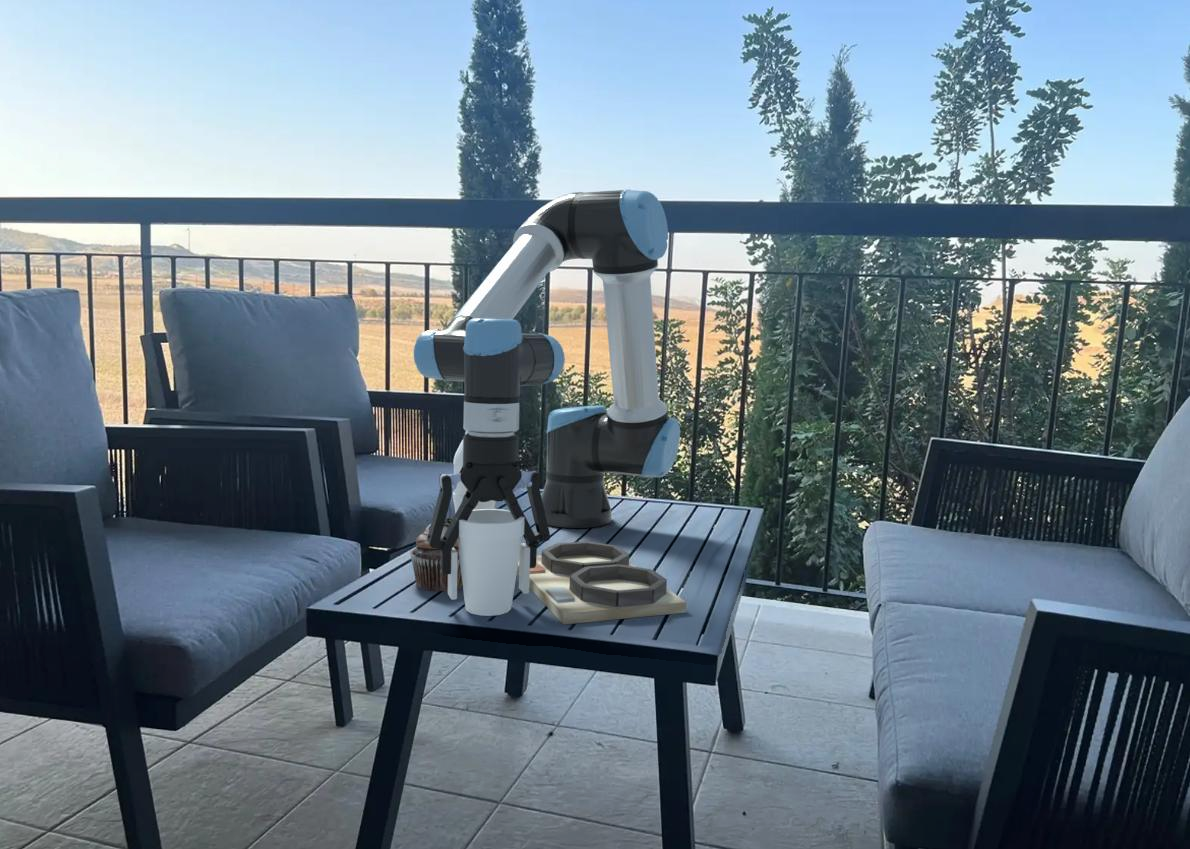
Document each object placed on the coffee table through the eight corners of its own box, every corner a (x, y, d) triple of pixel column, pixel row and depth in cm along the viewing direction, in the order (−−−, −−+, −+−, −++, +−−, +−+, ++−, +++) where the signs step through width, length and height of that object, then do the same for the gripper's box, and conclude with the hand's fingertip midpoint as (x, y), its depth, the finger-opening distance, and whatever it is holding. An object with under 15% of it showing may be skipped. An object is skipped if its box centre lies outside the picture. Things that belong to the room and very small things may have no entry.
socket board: (509, 566, 139) (510, 545, 138) (612, 559, 145) (613, 539, 145) (563, 624, 113) (564, 598, 112) (685, 612, 119) (686, 588, 119)
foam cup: (490, 593, 125) (491, 506, 123) (536, 607, 119) (538, 516, 118) (439, 608, 118) (440, 516, 116) (486, 624, 112) (488, 527, 110)
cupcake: (450, 570, 136) (450, 508, 135) (487, 584, 129) (488, 519, 128) (397, 581, 129) (397, 516, 128) (434, 597, 122) (435, 529, 121)
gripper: (413, 438, 108) (411, 609, 111) (577, 435, 116) (572, 595, 118) (404, 430, 115) (403, 591, 118) (560, 428, 123) (556, 579, 125)
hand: (488, 593), depth 118 cm, fingers closed on foam cup, 9 cm apart
